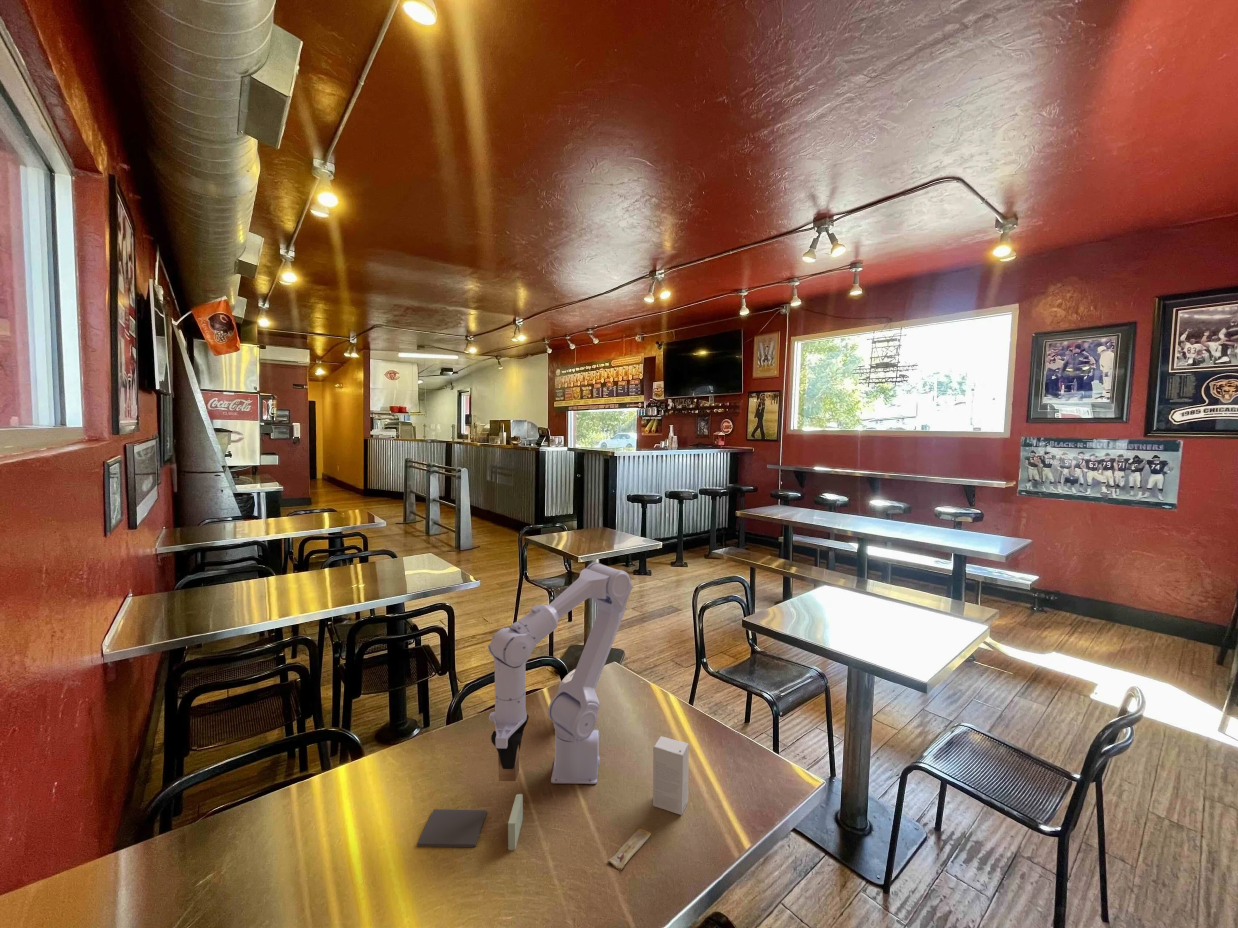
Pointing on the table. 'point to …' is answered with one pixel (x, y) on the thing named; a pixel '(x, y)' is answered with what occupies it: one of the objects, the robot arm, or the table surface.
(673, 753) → the skincare box
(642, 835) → the snack bar
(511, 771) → the oak push block
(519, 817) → the sage tile
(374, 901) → the table surface
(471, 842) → the mat
